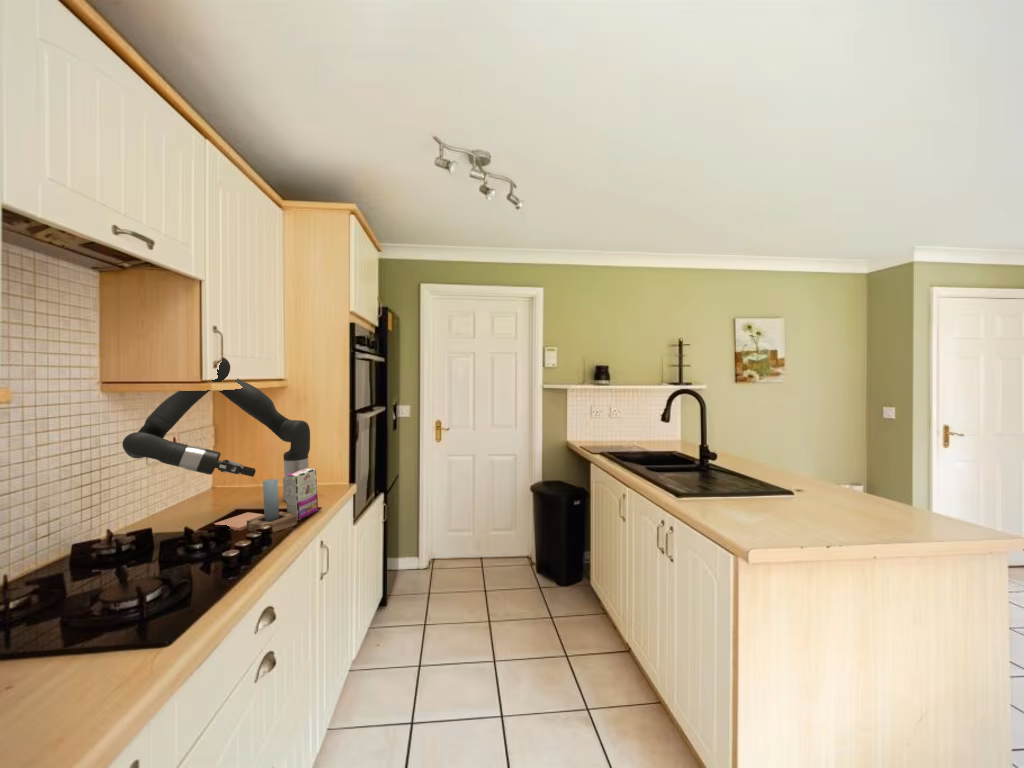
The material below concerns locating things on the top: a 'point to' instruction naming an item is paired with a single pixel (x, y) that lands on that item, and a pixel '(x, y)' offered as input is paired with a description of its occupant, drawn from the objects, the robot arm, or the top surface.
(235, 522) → the terracotta tile
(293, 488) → the candy bar box
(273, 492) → the slate peg
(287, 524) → the pocket block
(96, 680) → the top surface
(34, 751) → the top surface
